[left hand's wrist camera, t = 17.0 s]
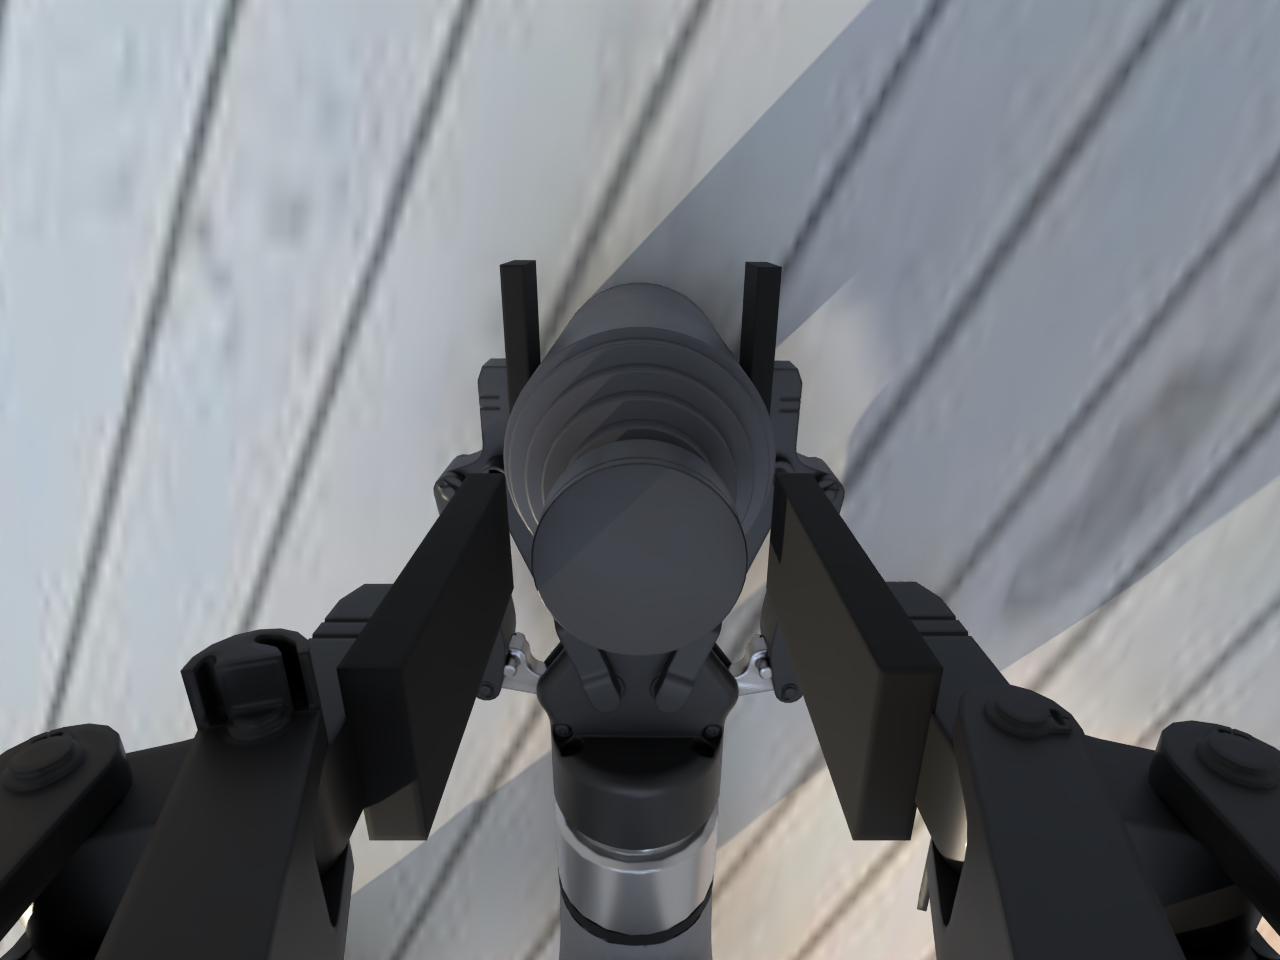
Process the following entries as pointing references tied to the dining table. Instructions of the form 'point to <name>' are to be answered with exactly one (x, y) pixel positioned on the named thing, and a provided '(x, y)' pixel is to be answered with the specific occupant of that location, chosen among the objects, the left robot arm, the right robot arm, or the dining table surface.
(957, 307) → the dining table surface
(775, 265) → the right robot arm
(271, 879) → the left robot arm
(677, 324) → the bottle
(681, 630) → the cap
